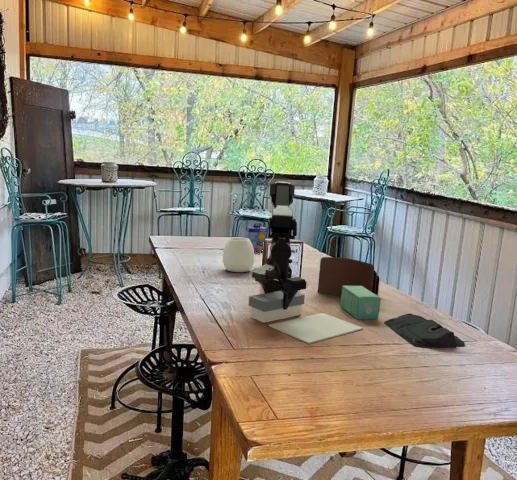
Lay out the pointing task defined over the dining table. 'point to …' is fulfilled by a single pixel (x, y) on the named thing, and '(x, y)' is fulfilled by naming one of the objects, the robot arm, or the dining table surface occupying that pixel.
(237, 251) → the cream rounded pot
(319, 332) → the pale cream mat
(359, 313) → the box
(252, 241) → the ink cartridge box
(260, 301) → the grey rectangular block
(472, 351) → the dining table surface
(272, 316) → the base
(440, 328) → the dark slate chunk
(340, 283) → the letter holder
